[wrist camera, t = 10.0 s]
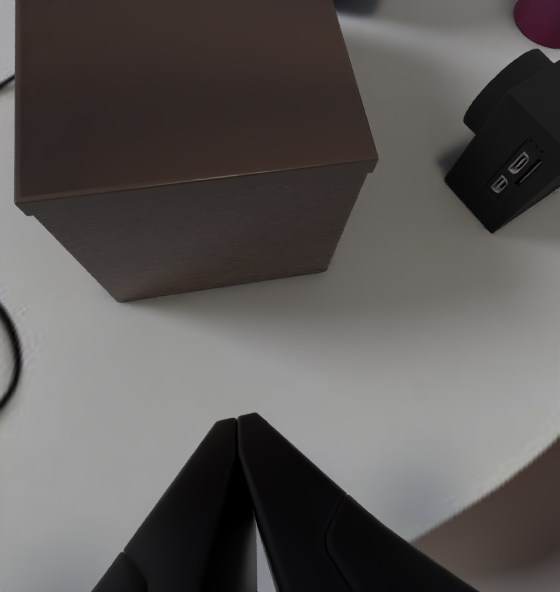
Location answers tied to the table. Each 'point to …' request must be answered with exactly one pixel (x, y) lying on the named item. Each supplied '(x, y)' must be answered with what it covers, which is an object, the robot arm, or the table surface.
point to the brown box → (188, 138)
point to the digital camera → (512, 142)
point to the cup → (539, 21)
